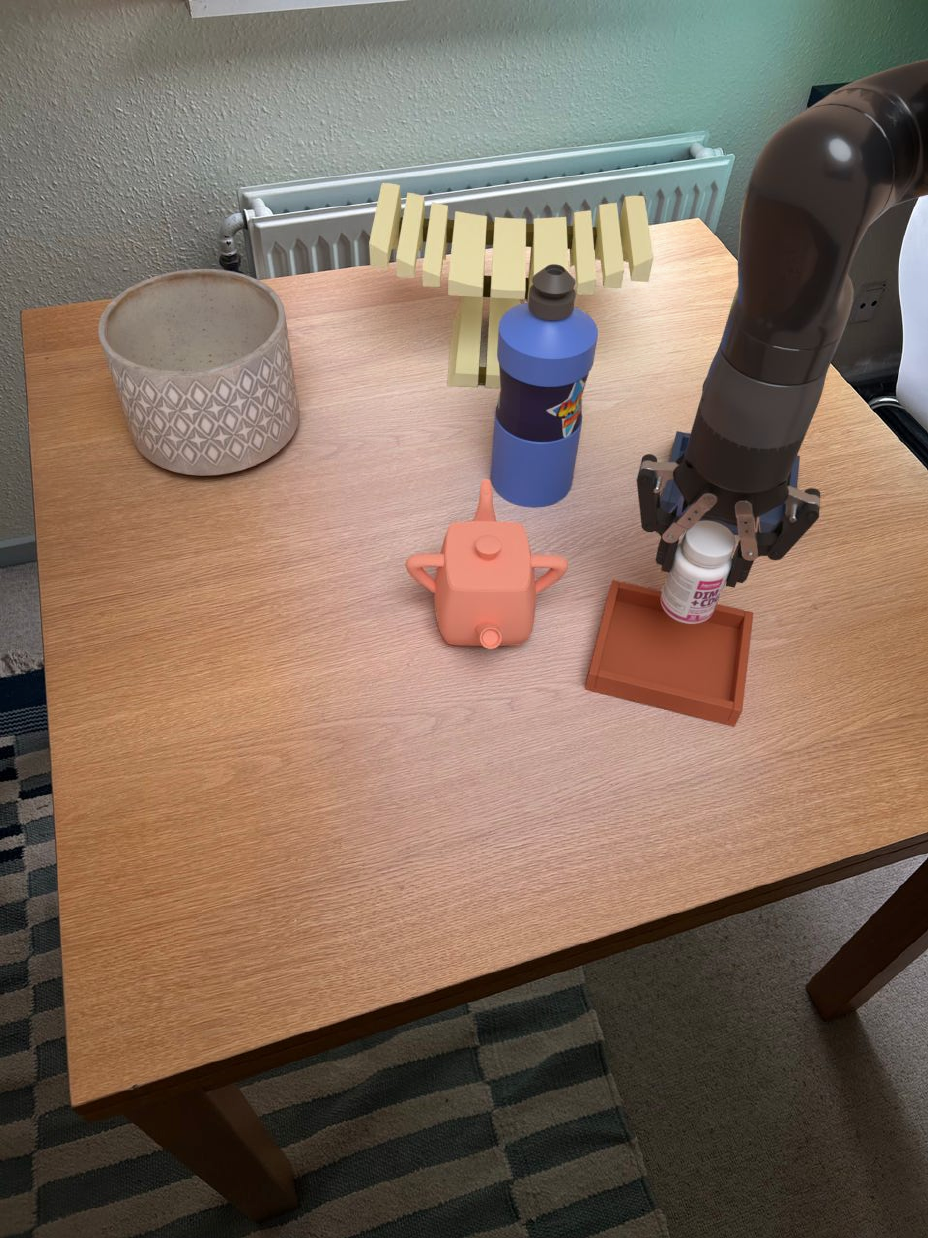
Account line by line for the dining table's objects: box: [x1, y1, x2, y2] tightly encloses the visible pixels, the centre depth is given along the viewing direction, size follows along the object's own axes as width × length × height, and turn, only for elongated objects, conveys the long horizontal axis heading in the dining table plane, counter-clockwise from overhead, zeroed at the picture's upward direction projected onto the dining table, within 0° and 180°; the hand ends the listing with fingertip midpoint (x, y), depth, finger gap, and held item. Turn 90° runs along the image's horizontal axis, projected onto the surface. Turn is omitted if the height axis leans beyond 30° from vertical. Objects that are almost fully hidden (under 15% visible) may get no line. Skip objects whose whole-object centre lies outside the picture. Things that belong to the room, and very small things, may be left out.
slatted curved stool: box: [368, 182, 654, 389], centre depth 108 cm, size 30×16×18 cm, turn 87°
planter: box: [97, 268, 300, 477], centre depth 99 cm, size 19×19×14 cm
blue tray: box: [660, 430, 801, 536], centre depth 99 cm, size 14×12×3 cm
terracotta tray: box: [584, 579, 754, 728], centre depth 85 cm, size 14×12×3 cm
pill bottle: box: [661, 521, 736, 624], centre depth 76 cm, size 5×5×8 cm
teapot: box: [405, 478, 569, 650], centre depth 85 cm, size 14×12×10 cm
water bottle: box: [489, 264, 599, 508], centre depth 91 cm, size 9×9×25 cm
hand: (699, 571), depth 76 cm, fingers closed on pill bottle, 4 cm apart
